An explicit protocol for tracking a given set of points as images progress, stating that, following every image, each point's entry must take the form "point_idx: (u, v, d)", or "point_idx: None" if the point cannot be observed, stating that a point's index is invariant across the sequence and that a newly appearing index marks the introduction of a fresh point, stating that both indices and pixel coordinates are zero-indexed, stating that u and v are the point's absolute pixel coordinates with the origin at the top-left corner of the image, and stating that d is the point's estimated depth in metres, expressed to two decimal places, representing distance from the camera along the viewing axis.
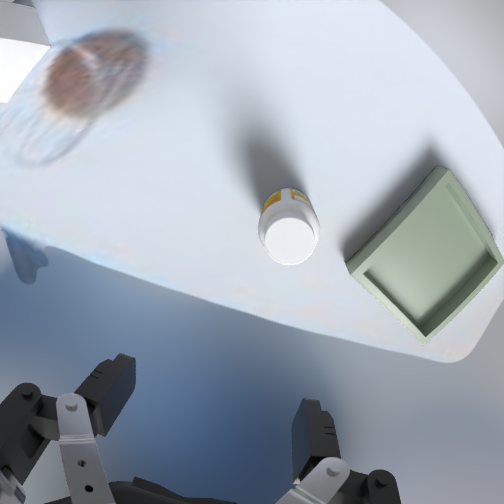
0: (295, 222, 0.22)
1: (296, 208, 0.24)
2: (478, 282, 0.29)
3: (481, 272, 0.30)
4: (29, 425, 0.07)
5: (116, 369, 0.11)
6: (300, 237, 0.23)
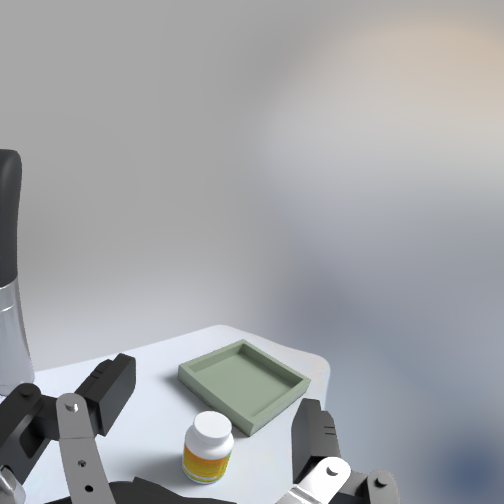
0: (198, 418, 0.27)
1: (191, 428, 0.28)
2: (258, 354, 0.53)
3: (252, 354, 0.54)
4: (29, 425, 0.07)
5: (116, 369, 0.11)
6: (209, 418, 0.27)
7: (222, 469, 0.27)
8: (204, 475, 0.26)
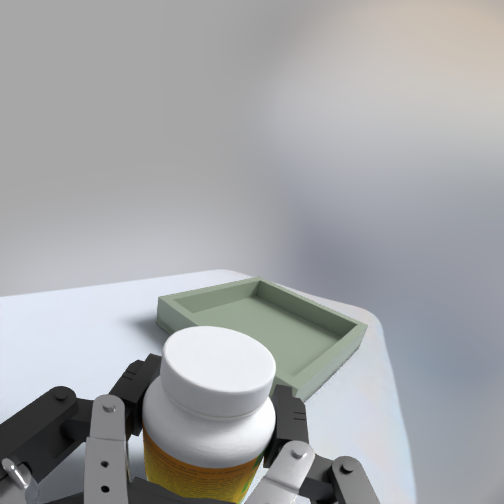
0: (178, 338, 0.10)
1: (160, 378, 0.11)
2: (283, 294, 0.37)
3: (273, 297, 0.38)
4: (59, 427, 0.08)
5: (149, 369, 0.11)
6: (212, 340, 0.10)
7: (243, 490, 0.10)
8: None
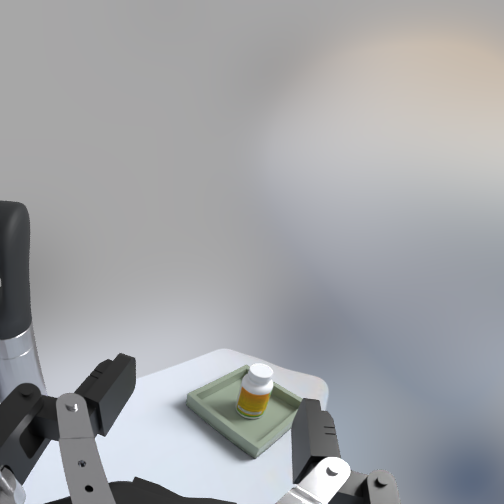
0: (252, 367, 0.46)
1: (246, 376, 0.47)
2: None
3: None
4: (29, 425, 0.07)
5: (116, 369, 0.11)
6: (258, 367, 0.47)
7: (265, 405, 0.46)
8: (254, 410, 0.45)
